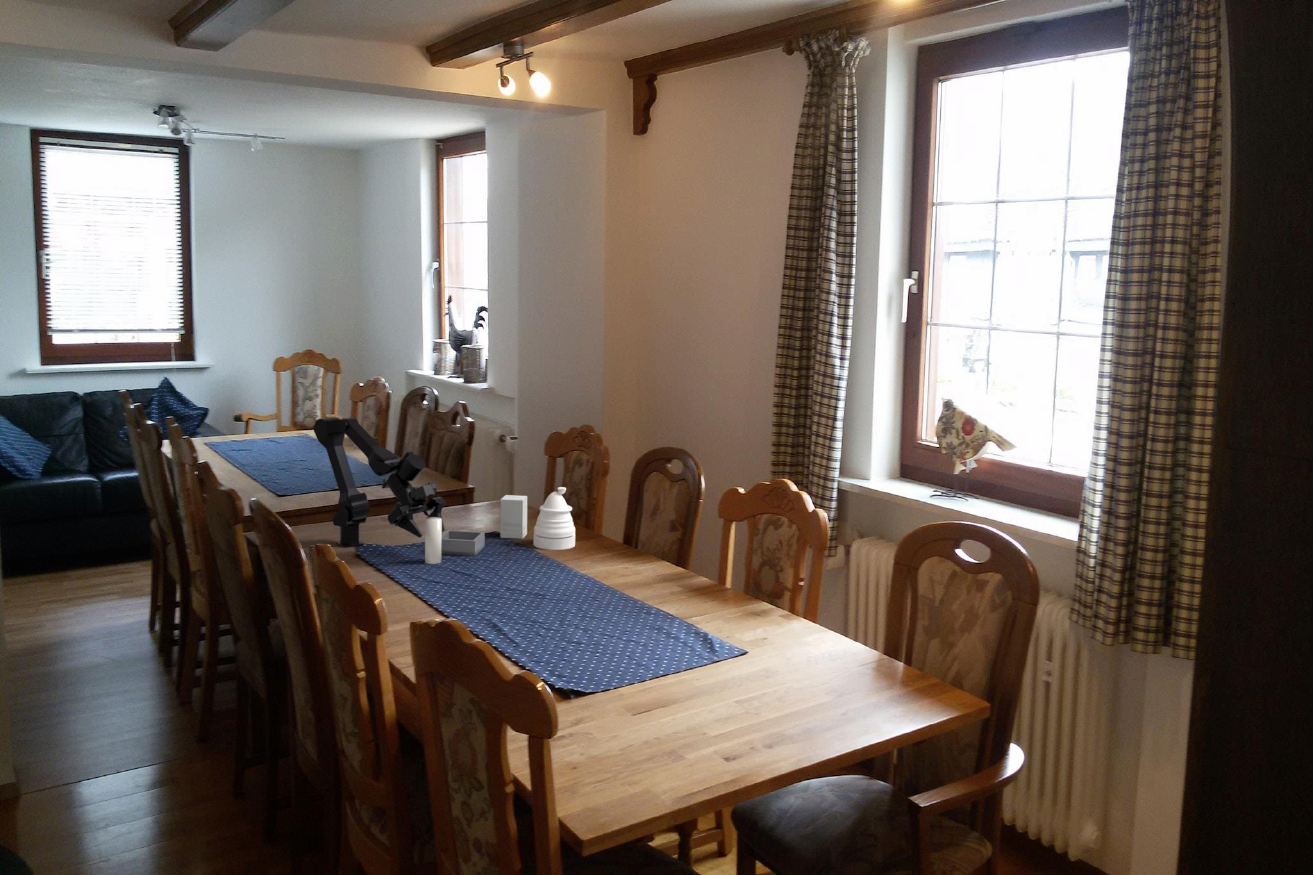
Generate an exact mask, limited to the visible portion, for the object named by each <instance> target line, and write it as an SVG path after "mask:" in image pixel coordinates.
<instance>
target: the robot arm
mask: <svg viewBox="0 0 1313 875" xmlns="http://www.w3.org/2000/svg"><path fill="white" fill-rule="evenodd" d="M312 428H313V432H314V435H315V436H316V439H317V441H318V442H319V443H320V444H321V446H323V448H325V450H326V452H327V456H328V459H329V462H330V465H331V466H330V467H331V469H332V471H333V472H332V473H333V475H334V479H335V482H336V485H337V489H338V491H339V498H338V501H337V508H338V511H337V512H336V514H334V515H333V517H332V518H331V519H332V524H333V526H335V527H339V540H336V541H335V544H337V545H339V546H340V547H343V548H346V547H355V546H364V545H365V544H364V542H362V541H361V540H360V538H361V537H360V536H361V535H360V533H361V530H360V526H361V525H360V524H365V523H367V522H366V521H367V519H368V515H369V513H370V502H369V501H368V495H367V494H366V492H360V491H359V490H358V488H357V486H356V482H355V480H354V476H353V473H352V470H351V467H350V466H351V465H350V463H349V461H348V457H347V454H346V450H345V447H344V440H345V436H347V437H348V439H349V440H350V441H352V443H353V444H354V445H355V446H356V447H357V448H358V449H359V450H360V451H361V452H362V453H363V455H364V456H366V459H367V463H368V466H369V467H370V469H371V470H372V472H373V473H374V474H375V475H376V476H377V477H383V476H388V475H389V476H388V477H387V478H384V479H382V484H381V489H383V490H384V489H389V490H390V491H391V492H392V494H393V496H394V497H395V499H394V502H395V504H397V505H396V506H394V507H393V509H392V510H391V511H390V512H389V513H388V514H387V521H388V523H389V525H390V526H393V525H394V526H395V527H399V528H401V529H403V530H405V531H407V532H409V533H410V534H412V535H413V536H416V537H417V538H419V539H421V538H422V537H423V534H422V532H421V530H420V528H419V526H418V525H417V523H416V521H415V519H414V516H413V515H415V514H421V513H423V514H424V516H427V517H426V518H430V517H438V518H441V519H442V533H444V532H445V525H444V521H443V516H442V510H443V509H444V506H445V504H446V500H445V499H444V498H443V497H442V496H437V497H432V498H430V497H431V496H435V495H436V493H437V492H438V488H437V485H436V484H435V483H434V481H429V482H427V483H425V484H424V485H421V486H413V485H412V483H411V482H413V481H415V480H416V479H417V478H418V476H419V475H420V474H421V473H422V472H423V470H424V469H425V468H426V467H427V466H426V465H427V464H426V461H425V459H424V458H422V457H421V456H419V455H417V454H415V453H414V452H413V451H411V450H410V451H406V453H405V454H404V456H403V457H402V458H401V459H400V458H399V457H398V455H396V454H395V453H393V452H392V451H391V450H389V449H386V448H384V447H382V446H381V445H379V443H378V442H377V441H376V440H375V439H374V438H373V437H372V436H371V435H370V433H368V432H367V431H366V430H365V429H364V427H363V426H362V425H361V424H360V423H359V420H358V419H357V418H355V417H346V418H341V419H340V418H339V417H336V416H333V417H324V418H318V419H317V420H315V423H314V424H313V427H312ZM428 498H430V499H429V500H428ZM425 503H426V504H425ZM398 504H400V505H398Z"/></svg>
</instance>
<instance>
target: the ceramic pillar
mask: <svg viewBox="0 0 1313 875" xmlns="http://www.w3.org/2000/svg"><path fill="white" fill-rule="evenodd" d="M442 520H443V518H442V519H441V518H438V517H430V518H427V517H425V520H424V532H425V533H424V563H425V564H428V565H436V564H437V563H438V564H441V563H442V554H441V547H442V534H443V532H442ZM438 564H437V565H438Z"/></svg>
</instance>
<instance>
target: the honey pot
mask: <svg viewBox="0 0 1313 875" xmlns="http://www.w3.org/2000/svg"><path fill="white" fill-rule="evenodd" d="M566 491H567V488H566V487H563V486H560V487H557V491H553V492H551V493H550V494H549V495H548V496H547V497H546V499H545V501H544V503H543V504H542V505H541V506H539V510H540V512H539V515H538V516H537V520H536V522H535V525H534V527H533V546H534V547H536V548H538V549H541V550H542V549H543V550H548V551H549V550H550V551H553V550H554V551H560V550H569V549H572V548H574V547H575V546H576V527H575V525H574V520H573V517H572V515H571V512H572V511H573V507H572V506H570V505H569V504H567V502H566V500H565V498H564V497H563V496H564V494H565V493H566Z"/></svg>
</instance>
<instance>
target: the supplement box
mask: <svg viewBox="0 0 1313 875" xmlns="http://www.w3.org/2000/svg"><path fill="white" fill-rule="evenodd" d="M499 501H500V518H499V519H500V527H499V528H500V529H499V530H500V531H499V532H500V538H501V539H517V540H518V539H519V540H522V539H524V538H525V537H526V536H527V534H528V495H515V494H514V495H512V494H506V495H504V496H503V497H502V498H500V500H499Z"/></svg>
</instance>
